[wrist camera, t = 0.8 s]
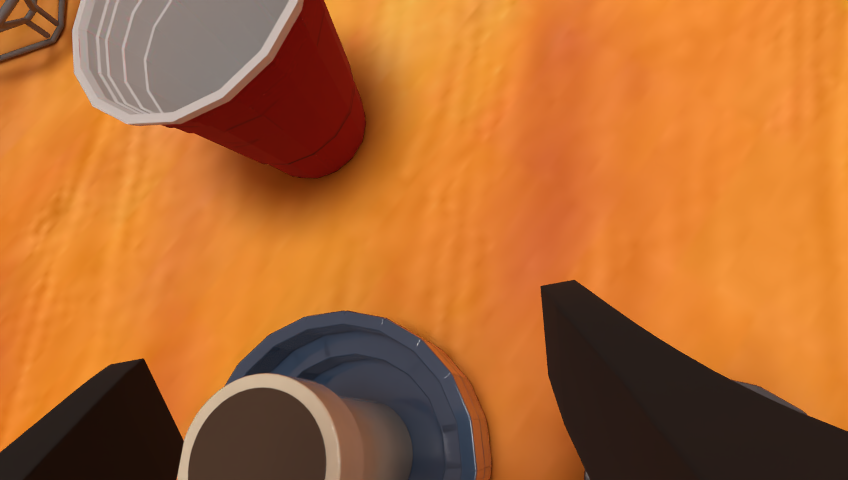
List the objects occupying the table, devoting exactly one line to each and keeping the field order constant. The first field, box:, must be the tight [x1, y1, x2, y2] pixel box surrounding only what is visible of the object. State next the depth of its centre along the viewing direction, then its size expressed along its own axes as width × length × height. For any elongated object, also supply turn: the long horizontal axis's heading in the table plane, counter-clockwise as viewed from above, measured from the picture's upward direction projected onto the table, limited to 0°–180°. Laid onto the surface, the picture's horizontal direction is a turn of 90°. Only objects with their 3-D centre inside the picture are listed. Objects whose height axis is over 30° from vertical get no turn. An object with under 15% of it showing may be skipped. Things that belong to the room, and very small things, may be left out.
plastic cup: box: [72, 0, 366, 178], centre depth 27 cm, size 11×11×12 cm
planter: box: [224, 311, 492, 480], centre depth 25 cm, size 12×12×4 cm
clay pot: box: [178, 373, 413, 480], centre depth 22 cm, size 6×6×9 cm
